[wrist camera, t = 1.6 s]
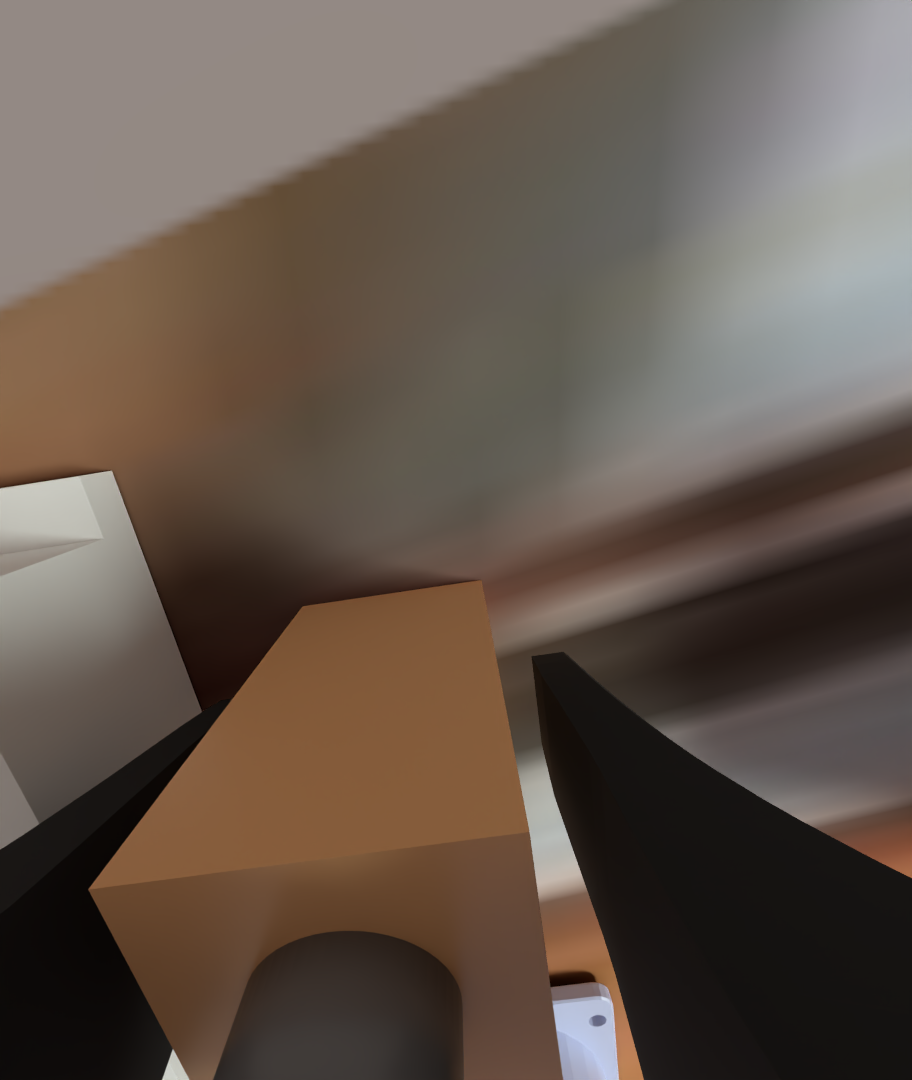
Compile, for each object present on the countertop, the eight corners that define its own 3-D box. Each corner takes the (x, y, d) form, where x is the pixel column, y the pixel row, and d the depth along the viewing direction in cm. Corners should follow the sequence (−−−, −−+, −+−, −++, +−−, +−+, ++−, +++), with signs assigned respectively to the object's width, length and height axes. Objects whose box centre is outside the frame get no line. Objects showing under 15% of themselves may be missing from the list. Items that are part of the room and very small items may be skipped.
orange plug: (503, 730, 11) (601, 1311, 4) (342, 752, 11) (154, 1354, 4) (481, 579, 10) (563, 1010, 3) (302, 606, 10) (-63, 1086, 3)
